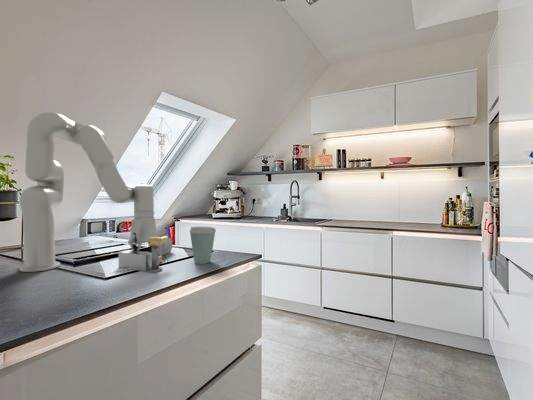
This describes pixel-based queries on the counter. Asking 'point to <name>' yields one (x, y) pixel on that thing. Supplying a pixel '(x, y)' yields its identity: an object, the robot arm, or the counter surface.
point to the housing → (140, 260)
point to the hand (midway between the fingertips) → (144, 257)
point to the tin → (165, 247)
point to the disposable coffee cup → (202, 243)
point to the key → (158, 240)
